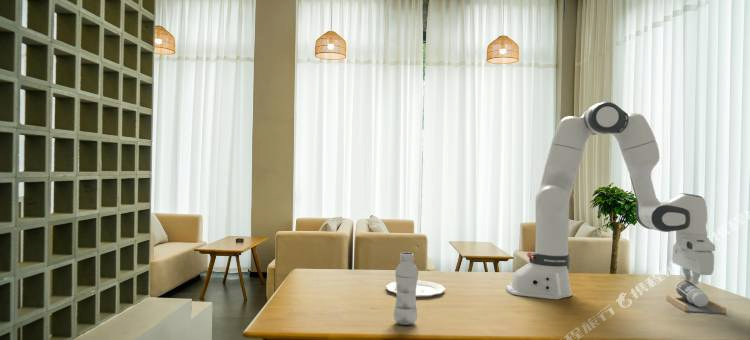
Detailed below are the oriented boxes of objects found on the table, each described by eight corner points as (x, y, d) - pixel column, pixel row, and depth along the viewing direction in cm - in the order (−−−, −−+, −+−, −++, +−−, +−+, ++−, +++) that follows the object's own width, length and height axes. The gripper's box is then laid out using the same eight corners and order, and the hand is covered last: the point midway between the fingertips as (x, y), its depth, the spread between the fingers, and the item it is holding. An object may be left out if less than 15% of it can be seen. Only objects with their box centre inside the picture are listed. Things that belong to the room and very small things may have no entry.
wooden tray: (684, 311, 151) (684, 305, 151) (665, 299, 165) (665, 294, 165) (725, 314, 149) (726, 308, 149) (703, 302, 163) (703, 296, 163)
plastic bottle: (392, 320, 138) (393, 251, 137) (415, 320, 138) (416, 251, 138) (395, 327, 131) (396, 255, 131) (419, 327, 132) (420, 255, 132)
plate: (374, 289, 172) (374, 284, 172) (417, 281, 185) (417, 277, 185) (412, 303, 156) (412, 298, 156) (457, 294, 168) (457, 289, 168)
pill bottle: (690, 296, 165) (708, 309, 155) (673, 294, 165) (690, 307, 156) (694, 280, 164) (712, 293, 154) (677, 278, 164) (694, 291, 154)
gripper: (667, 236, 171) (667, 275, 172) (696, 246, 151) (696, 289, 151) (686, 237, 170) (686, 275, 171) (718, 246, 150) (718, 290, 150)
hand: (691, 282), depth 161 cm, fingers open, 3 cm apart
